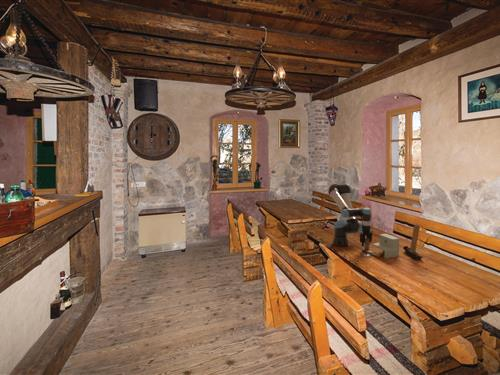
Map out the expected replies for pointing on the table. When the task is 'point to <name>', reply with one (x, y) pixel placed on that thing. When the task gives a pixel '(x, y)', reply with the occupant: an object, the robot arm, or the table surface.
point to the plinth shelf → (388, 245)
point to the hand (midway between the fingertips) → (365, 249)
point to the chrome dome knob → (367, 255)
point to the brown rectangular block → (368, 247)
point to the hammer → (413, 243)
